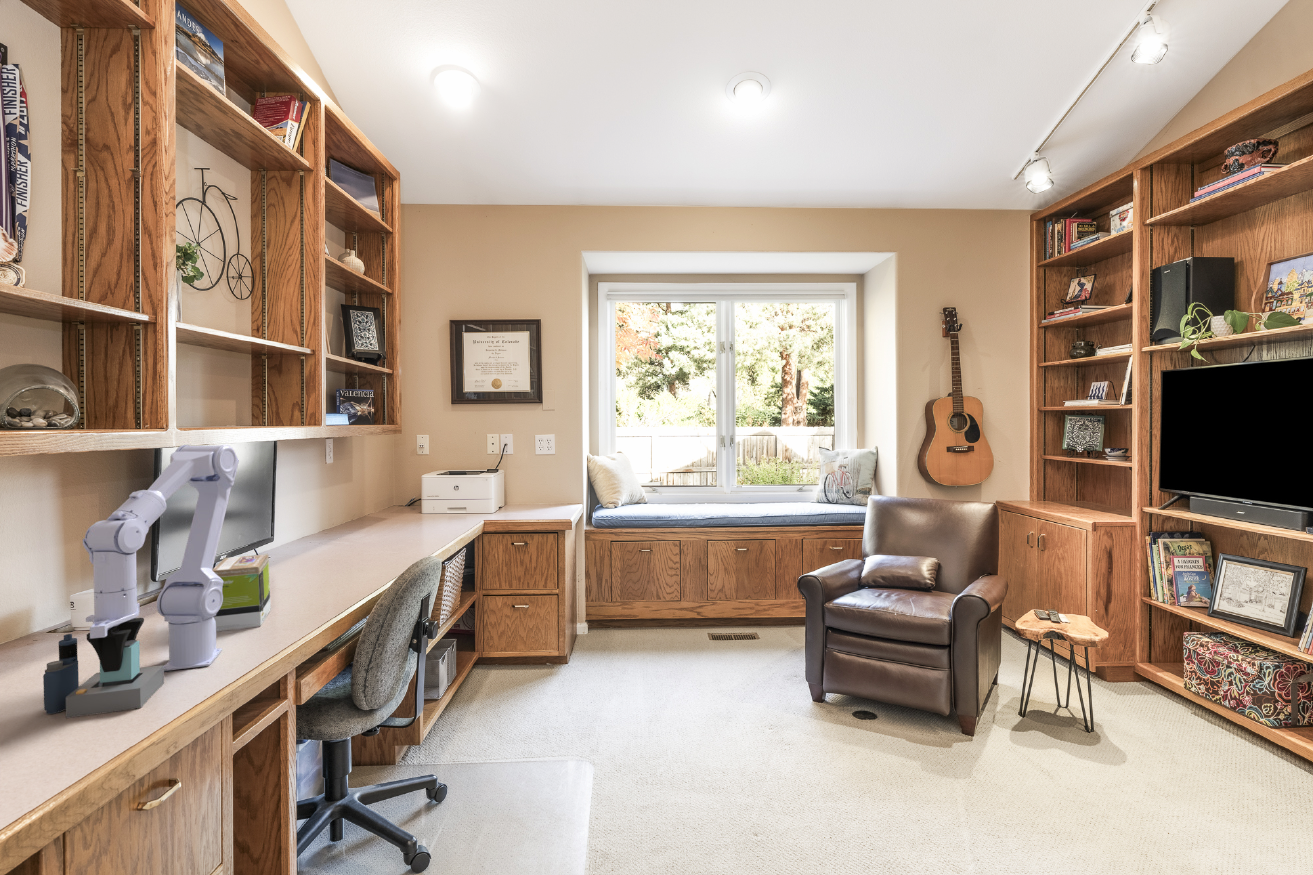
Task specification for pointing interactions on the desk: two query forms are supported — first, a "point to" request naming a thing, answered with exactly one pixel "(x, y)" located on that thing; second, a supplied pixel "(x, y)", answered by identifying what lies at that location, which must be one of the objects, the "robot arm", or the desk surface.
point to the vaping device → (61, 676)
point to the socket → (114, 693)
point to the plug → (125, 664)
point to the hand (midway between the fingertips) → (117, 666)
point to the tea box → (243, 592)
